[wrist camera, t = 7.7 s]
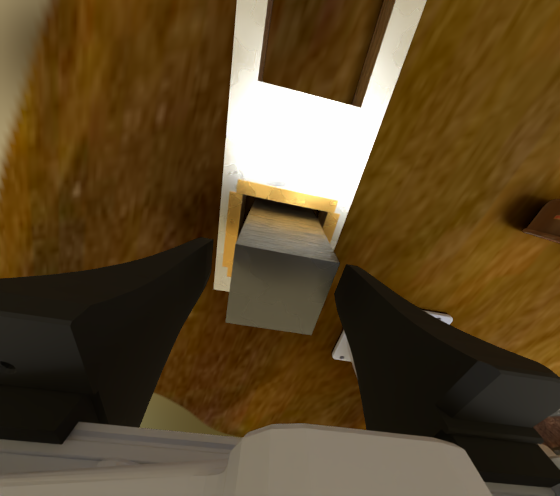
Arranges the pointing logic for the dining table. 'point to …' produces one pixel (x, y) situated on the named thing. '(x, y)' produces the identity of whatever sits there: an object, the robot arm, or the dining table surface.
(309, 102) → the white rectangular board
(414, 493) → the robot arm
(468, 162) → the dining table surface
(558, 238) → the tin
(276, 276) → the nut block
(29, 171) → the dining table surface
